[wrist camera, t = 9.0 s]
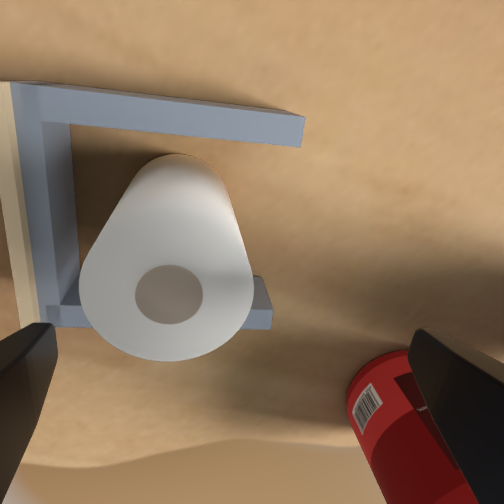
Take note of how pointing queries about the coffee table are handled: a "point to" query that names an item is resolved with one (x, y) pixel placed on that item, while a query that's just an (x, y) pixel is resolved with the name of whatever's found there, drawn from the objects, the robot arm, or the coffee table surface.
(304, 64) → the coffee table surface
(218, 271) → the roll
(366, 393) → the canned food
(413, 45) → the coffee table surface
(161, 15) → the coffee table surface
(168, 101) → the bracket
